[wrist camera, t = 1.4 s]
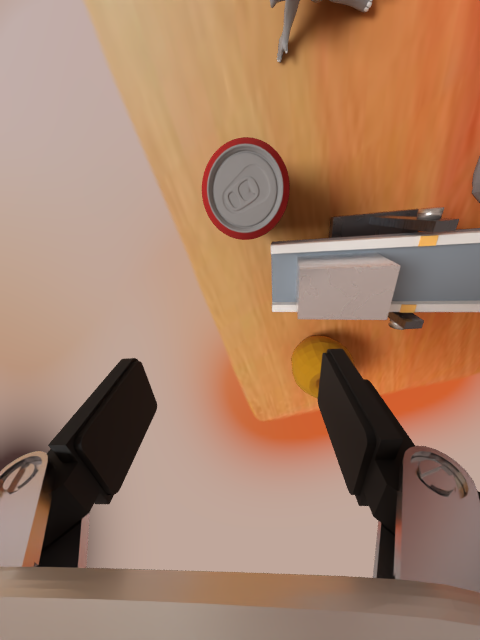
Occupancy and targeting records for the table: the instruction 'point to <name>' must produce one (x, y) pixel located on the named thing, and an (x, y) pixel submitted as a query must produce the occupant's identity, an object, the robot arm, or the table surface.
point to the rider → (345, 286)
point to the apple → (312, 361)
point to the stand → (393, 225)
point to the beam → (414, 275)
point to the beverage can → (245, 188)
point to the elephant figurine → (362, 3)
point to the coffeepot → (476, 182)
